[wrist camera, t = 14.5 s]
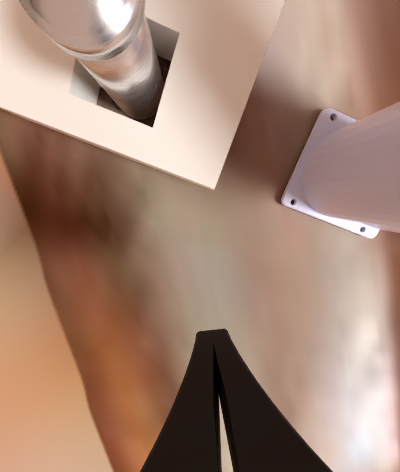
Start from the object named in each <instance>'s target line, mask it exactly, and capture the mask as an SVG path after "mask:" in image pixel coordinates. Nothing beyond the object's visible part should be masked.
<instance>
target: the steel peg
mask: <svg viewBox="0 0 400 472" xmlns="http://www.w3.org/2000/svg"><path fill="white" fill-rule="evenodd" d="M19 2H20V4H21V6H22V7H23V9H24V10H25V12H26V13H27V14H28V16H29V17H30V18H31V19H32V20H33V21H34V23H35V24H36V25H37V26H38V27H39V28H40V29H41V30H42V31H43V32H44V33H45V34H46V35H47V36H48V38H49V39H50V40H51V41H52V42H53V43H54V44H56V45H57V46H58V47H59V48H60V49H62V50H63V51H65V52H66V53H68V54H70V55H72V56H74V57H76V58H77V59H78V60H79V62H80V63H81V64H82V65H83V66H84V67H85V68H86V70H87V71H88V72H89V73H90V74H91V75H92V76H93V78H94V79H95V80H96V81H97V82H98V83H99V84H100V86H101V87H102V88H103V89H104V90H105V91H106V92H107V94H108V95H109V96H110V97H111V98H112V99H113V100H114V102H115V103H116V104H117V105H118V106H119V107H120V109H121V110H122V111H123V112H124V113H125V114H127V115H128V116H130V117H132V118H135V119H141V120H142V119H148V118H151V117H153V116H154V115H156V114H157V111H158V107H159V104H160V100H161V97H162V93H163V90H164V86H165V85H164V81H163V77H162V74H161V70H160V66H159V63H158V59H157V55H156V52H155V48H154V44H153V41H152V37H151V33H150V30H149V26H148V22H147V19H146V15H145V0H19Z"/></svg>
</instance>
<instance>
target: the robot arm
mask: <svg viewBox="0 0 400 472" xmlns="http://www.w3.org/2000/svg"><path fill="white" fill-rule="evenodd" d="M330 116H332V117H333V121H332V120H331V119H330ZM292 199H293V200H294V204H293V205H291V203H290V202H291V200H292ZM281 203H282V205H284V206H287V207H289V208H292V209H294V210H297V211H299V212H302V213H304V214H307V215H310V216H312V217H315V218H317V219H320V220H322V221H325V222H327V223H330V224H333V225H335V226H338V227H340V228H343V229H345V230H348V231H351V232H353V233H356V234H358V235H361V236H363V237H366V238H374V237H375V236H376V235H377V233H378V231H379V230H380V229H382V230H387V231H392V232H397V233H400V101H399V102H397V103H395V104H393V105H391V106H388V107H386V108H384V109H382V110H380V111H377V112H375V113H373V114H371V115H369V116H366V117H364V118H362V119H360V120H358V121H357V120H355V119H353V118H351V117H349V116H346V115H344V114H342V113H340V112H338V111H336V110H333V109H331V108H326V109H324V110H323V111H321V112H320V114H319V116H318V118H317V120H316V123H315V125H314V127H313V129H312V131H311V134H310V136H309V138H308V140H307V142H306V145H305V147H304V149H303V151H302V153H301V156H300V158H299V160H298V162H297V165H296V167H295V169H294V171H293V173H292V176H291V178H290V180H289V182H288V184H287V187H286V189H285V191H284V193H283V195H282V198H281ZM361 227H362V229H361V231H360V228H361ZM219 398H220V403H221V409H222V414H223V419H224V424H225V430H226V435H227V440H228V445H229V451H230V456H231V461H232V466H233V472H332V470H331V469H330V468H329V467H328V466H327V465H326V464H325V463H324V462H323V461H322V460H321V459H320V457H319V456H318V455H317V454H316V453H315V452H314V451H313V450H312V449H311V448H310V447H309V445H308V444H307V443H306V442H305V441H304V440H303V438H302V437H301V436H300V435H299V434H298V433H297V431H296V430H295V429H294V428H293V427H292V426H291V424H290V423H289V422H288V421H287V419H286V418H285V417H284V416H283V415H282V413H281V412H280V411H279V410H278V408H277V407H276V406H275V405H274V403H273V402H272V401H271V399H270V398H269V397H268V395H267V394H266V393H265V391H264V390H263V389H262V387H261V386H260V384H259V383H258V382H257V380H256V379H255V377H254V376H253V374H252V373H251V371H250V370H249V368H248V367H247V365H246V364H245V362H244V361H243V359H242V357H241V356H240V354H239V352H238V351H237V349H236V347H235V345H234V344H233V342H232V340H231V338H230V336H229V333H228V331H227V330H226V329H218V330H208V331H199V332H198V333H197V334H196V340H195V344H194V348H193V352H192V355H191V359H190V362H189V365H188V368H187V370H186V373H185V376H184V379H183V382H182V384H181V387H180V389H179V392H178V394H177V397H176V399H175V401H174V404H173V406H172V408H171V411H170V413H169V415H168V417H167V419H166V422H165V424H164V426H163V428H162V430H161V432H160V434H159V436H158V438H157V440H156V442H155V444H154V446H153V448H152V450H151V452H150V454H149V456H148V458H147V460H146V462H145V463H144V465H143V467H142V469H141V471H140V472H222V467H221V441H220V416H219Z"/></svg>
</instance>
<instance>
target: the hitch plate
mask: <svg viewBox="0 0 400 472" xmlns="http://www.w3.org/2000/svg"><path fill="white" fill-rule="evenodd" d="M284 2H285V0H145V15H146V19H147V22H148V26H149V30H150V33H151V37H152V41H153V44H154V48H155V52H156V55H158V56H160V57H162V58H164V59H167V60H169V61H171V65H170V69H169V72H168V76H167V79H166V83H165V86H164V90H163V93H162V97H161V100H160V104H159V107H158V111H157V114H156V118H155V121H154V125H153V128H152V127H149V126H147V125H145V124H142V123H140V122H137V121H135V120H132V119H130V118H127V117H125V116H122V115H120V114H117V113H115V112H112V111H110V110H108V109H105V108H103V107H100V106H98V105H96V104H97V99H98V95H99V90H100V84H99V83H98V82H97V81H96V80H95V79H94V78H93V76H92V75H91V74H90V73H89V72H88V71H87V70H86V68H85V67H84V66H83V65H82V64H81V63H80V62H79V60H78V59H77V58H76V57H74V56H72V55H70V54H68V53H66V52H65V51H63V50H62V49H60V48H59V47H58V46H57V45H56V44H54V43H53V42H52V41H51V40H50V39H49V38H48V36H47V35H46V34H45V33H44V32H43V31H42V30H41V29H40V28H39V27H38V26H37V25H36V24H35V23H34V21H33V20H32V19H31V18H30V17H29V16H28V14H27V13H26V12H25V10H24V9H23V7H22V6H21V4H20V2H19V0H0V108H1V109H3V110H5V111H8V112H10V113H12V114H14V115H17V116H19V117H21V118H24V119H26V120H29V121H32V122H34V123H37V124H39V125H42V126H45V127H47V128H50V129H53V130H55V131H58V132H60V133H63V134H66V135H68V136H71V137H73V138H76V139H79V140H81V141H84V142H86V143H89V144H92V145H94V146H97V147H100V148H102V149H105V150H107V151H110V152H113V153H115V154H118V155H120V156H123V157H126V158H128V159H131V160H133V161H136V162H139V163H141V164H144V165H147V166H149V167H152V168H154V169H157V170H160V171H162V172H165V173H167V174H170V175H173V176H175V177H178V178H180V179H183V180H186V181H188V182H191V183H193V184H196V185H199V186H201V187H204V188H207V189H209V190H213V189H215V186H216V184H217V181H218V178H219V176H220V173H221V170H222V168H223V165H224V162H225V159H226V157H227V154H228V151H229V149H230V146H231V143H232V141H233V138H234V135H235V133H236V130H237V127H238V125H239V122H240V119H241V117H242V114H243V111H244V109H245V106H246V103H247V101H248V98H249V95H250V93H251V90H252V87H253V85H254V82H255V79H256V77H257V74H258V71H259V69H260V66H261V63H262V61H263V58H264V55H265V52H266V50H267V47H268V44H269V42H270V39H271V36H272V34H273V31H274V28H275V26H276V23H277V20H278V18H279V15H280V12H281V10H282V7H283V4H284Z"/></svg>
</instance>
